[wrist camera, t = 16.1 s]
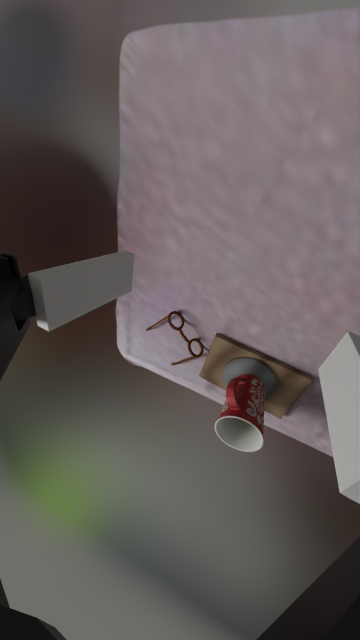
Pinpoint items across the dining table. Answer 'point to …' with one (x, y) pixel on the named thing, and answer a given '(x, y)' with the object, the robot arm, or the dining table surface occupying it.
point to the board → (254, 373)
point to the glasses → (182, 336)
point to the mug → (243, 414)
